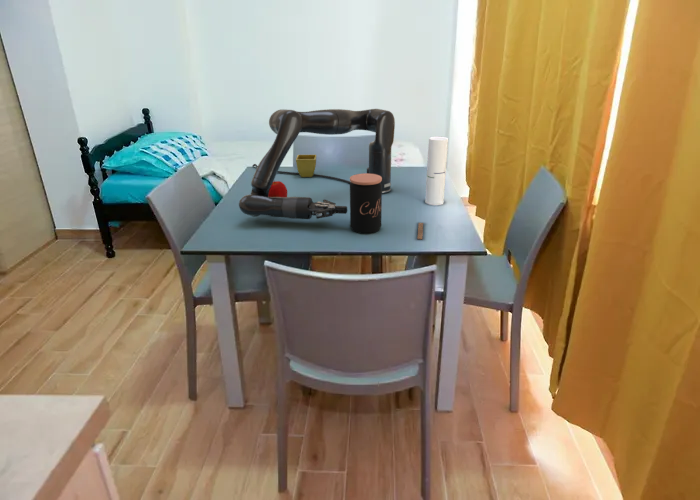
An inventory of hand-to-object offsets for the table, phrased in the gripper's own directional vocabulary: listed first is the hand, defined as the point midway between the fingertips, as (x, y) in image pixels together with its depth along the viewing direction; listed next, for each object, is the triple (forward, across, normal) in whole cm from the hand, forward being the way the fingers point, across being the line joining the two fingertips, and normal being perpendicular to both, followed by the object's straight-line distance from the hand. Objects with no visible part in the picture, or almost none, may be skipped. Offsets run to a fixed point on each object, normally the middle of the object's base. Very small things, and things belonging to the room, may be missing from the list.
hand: (346, 210), depth 166 cm
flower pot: (-29, +61, +7) cm, 68 cm away
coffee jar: (+6, 0, +7) cm, 9 cm away
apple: (-29, +14, +7) cm, 33 cm away
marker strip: (+25, 0, +6) cm, 26 cm away
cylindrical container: (+30, +31, +7) cm, 43 cm away
